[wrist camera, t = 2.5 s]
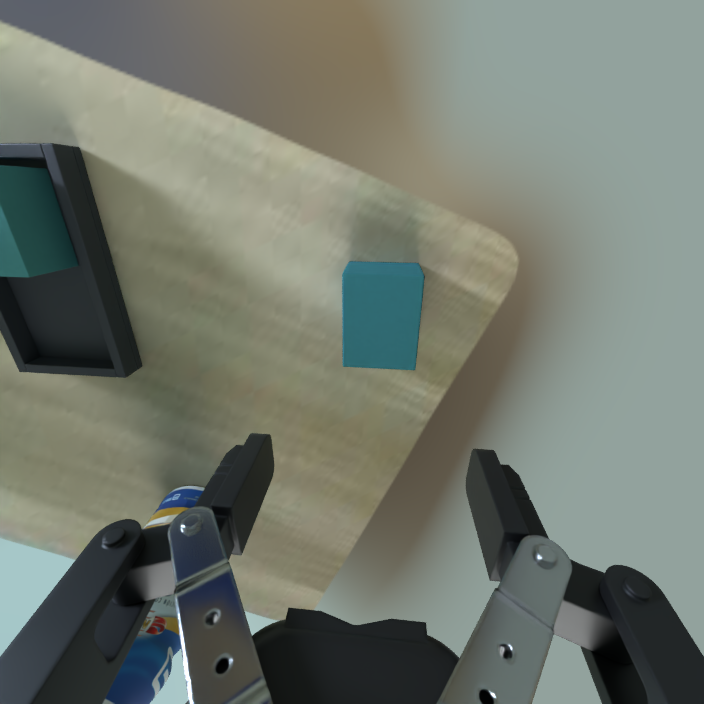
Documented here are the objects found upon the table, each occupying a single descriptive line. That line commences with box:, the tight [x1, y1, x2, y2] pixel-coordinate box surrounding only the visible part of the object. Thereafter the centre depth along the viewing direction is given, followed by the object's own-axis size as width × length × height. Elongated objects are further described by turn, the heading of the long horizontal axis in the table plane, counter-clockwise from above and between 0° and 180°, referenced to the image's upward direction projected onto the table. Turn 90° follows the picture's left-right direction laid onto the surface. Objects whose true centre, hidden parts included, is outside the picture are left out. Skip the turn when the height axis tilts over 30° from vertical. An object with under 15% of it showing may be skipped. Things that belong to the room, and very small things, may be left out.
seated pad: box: [0, 165, 79, 277], centre depth 23 cm, size 5×6×4 cm
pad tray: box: [0, 143, 142, 378], centre depth 26 cm, size 10×17×2 cm, turn 179°
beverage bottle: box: [103, 486, 205, 704], centre depth 28 cm, size 8×8×20 cm
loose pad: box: [342, 261, 425, 370], centre depth 24 cm, size 5×6×4 cm
